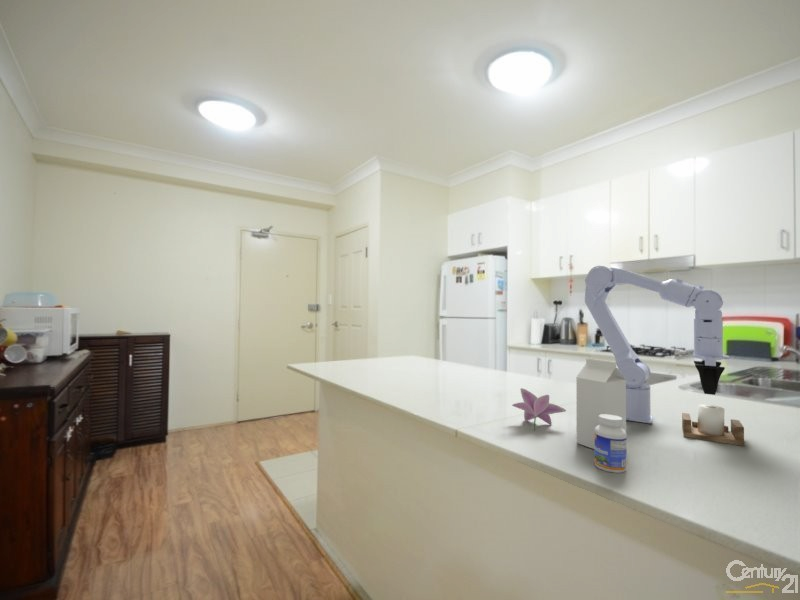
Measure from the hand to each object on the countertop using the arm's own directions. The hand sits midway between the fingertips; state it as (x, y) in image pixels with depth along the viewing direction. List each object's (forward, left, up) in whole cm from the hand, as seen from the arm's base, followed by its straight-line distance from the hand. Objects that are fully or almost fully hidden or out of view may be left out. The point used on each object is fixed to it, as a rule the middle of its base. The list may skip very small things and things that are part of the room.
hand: (708, 391), depth 97 cm
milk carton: (-21, -28, -10) cm, 37 cm away
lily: (-36, -22, -10) cm, 44 cm away
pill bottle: (-18, -40, -10) cm, 45 cm away
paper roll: (0, -5, -9) cm, 10 cm away
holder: (0, -5, -10) cm, 11 cm away
